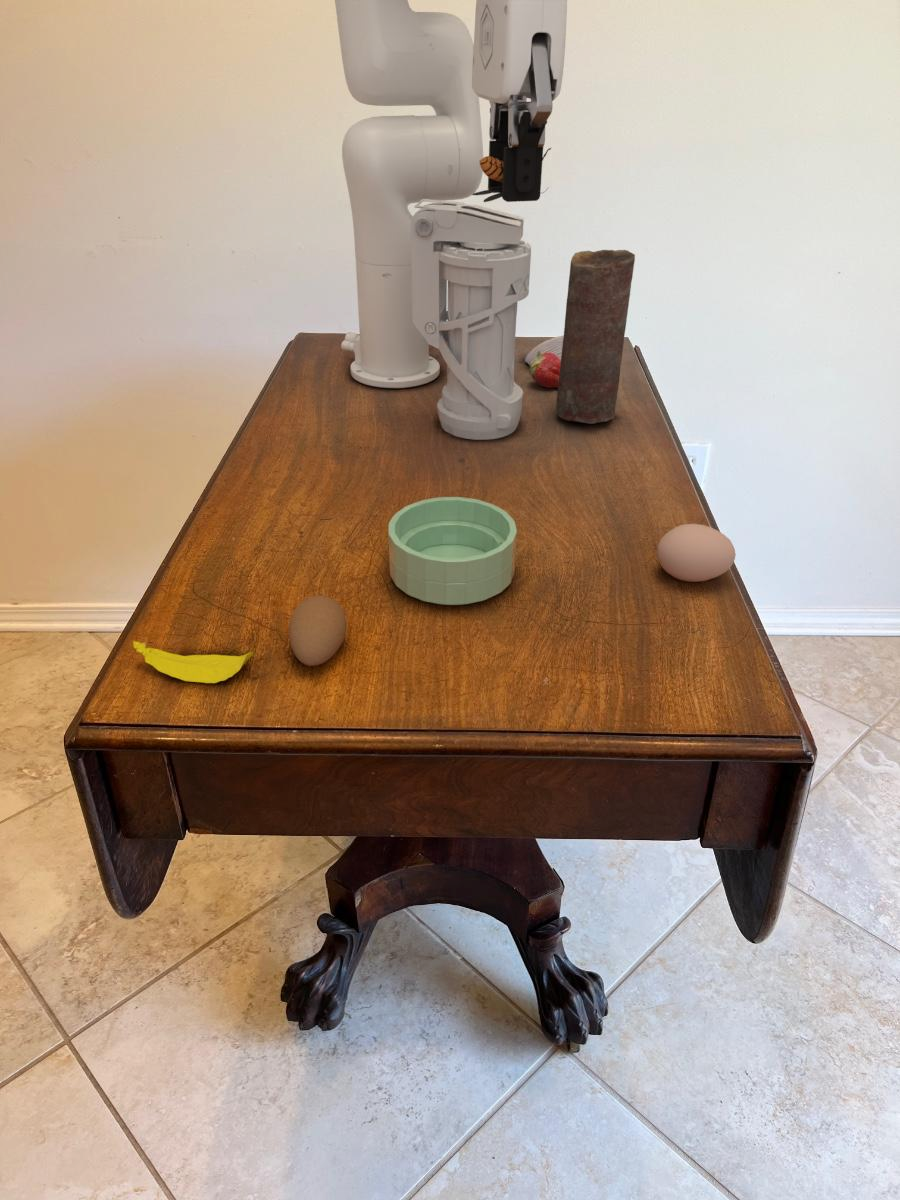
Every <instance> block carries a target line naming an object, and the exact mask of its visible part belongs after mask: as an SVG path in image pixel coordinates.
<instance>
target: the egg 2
mask: <svg viewBox="0 0 900 1200" xmlns="http://www.w3.org/2000/svg"><path fill="white" fill-rule="evenodd" d="M656 557H657V561H658V563H659V565H660V566H661V567H662V569H663V570H664V571H665V572H666V573H667V574H668V575H670V576H672V577H673V578H675V579H676V580H679V581H684V582H692V583H695V582H696V583H698V582H705V581H709V580H712V579H714V578H717V577H719V576H721V575H723V574H725V573H726V572H727V571H728V570H730V568H731V567H732V566H733V564H734V562H735V560H736V549H735V546H734V544H733V542H732V540H730V538H729V537H727V536H726V535H725V534H723V533H722V532H721V531H719V530H717V529H715V528H713V527H711V526H707V525H705V524H699V523H687V524H681V525H678V526H675V527H673V528H672V529H670V530H669V531H668V532H666V533H665V534H664V535H662V537H661V538H660V540H659V542H658V544H657V548H656Z"/></svg>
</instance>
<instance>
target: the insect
mask: <svg viewBox="0 0 900 1200" xmlns="http://www.w3.org/2000/svg"><path fill="white" fill-rule="evenodd" d="M551 149H552V147H550V148H549V147H548V149H547V150H546V151H545V153H543V159H542V162H543V161H544V159H545V158H546V157H547V154H548V152H549V151H550V150H551ZM479 163H480V166H481V168H482V170H483V174H484V175H485V176H487V178H488V177H489V178H491V179H493V180H496V181H500V182H503V161H500V160H498V159H497V158H493V157H491V156H489V155H487V156H483V159H481V160H480V161H479ZM495 188H496V189H495ZM488 189H490V190H488ZM548 189H549V187H547V188H546V190H548ZM501 190H502V186H498V187H490V188H488V187H487V189H486V190H481V191H476V192H475V193H474V194H472V195H471V196H484V195H489V194H491V195H489V196H488V197H486V198H484V199H483V203H487V202H488V203H489V202H492V201H495V200H498V199H500V198H502V192H501V193H494V192H498V191H501ZM544 193H545V191H543V192H542V194H544Z"/></svg>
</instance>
